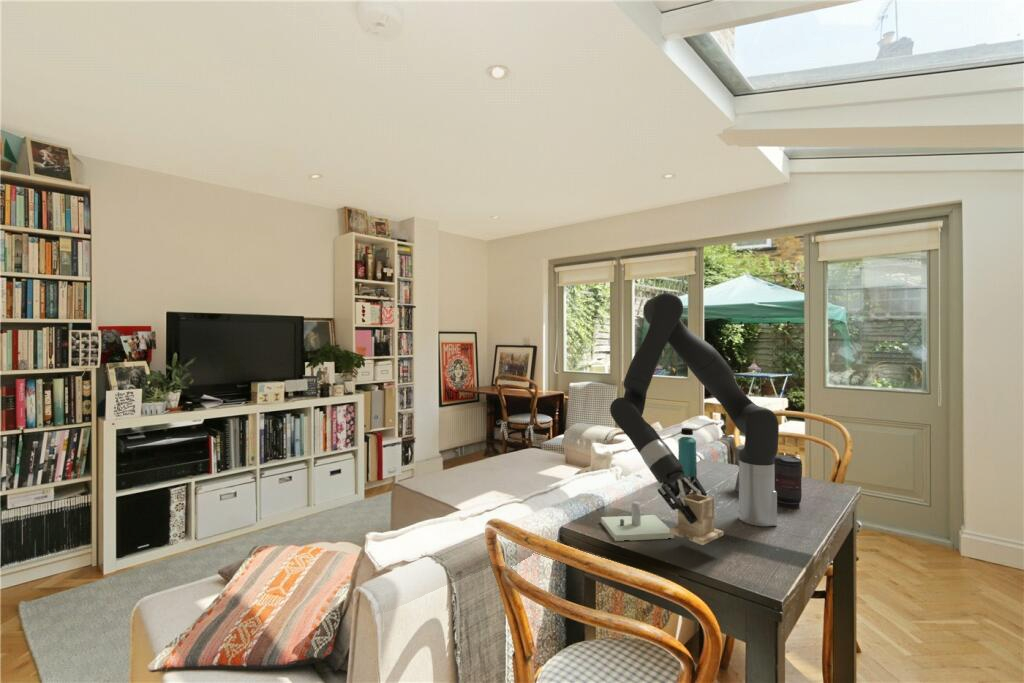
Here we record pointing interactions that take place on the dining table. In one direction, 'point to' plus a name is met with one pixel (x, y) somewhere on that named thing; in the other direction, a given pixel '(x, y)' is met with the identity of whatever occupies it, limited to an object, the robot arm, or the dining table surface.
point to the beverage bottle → (687, 453)
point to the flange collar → (698, 520)
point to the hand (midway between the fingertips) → (702, 518)
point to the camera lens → (788, 481)
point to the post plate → (636, 526)
